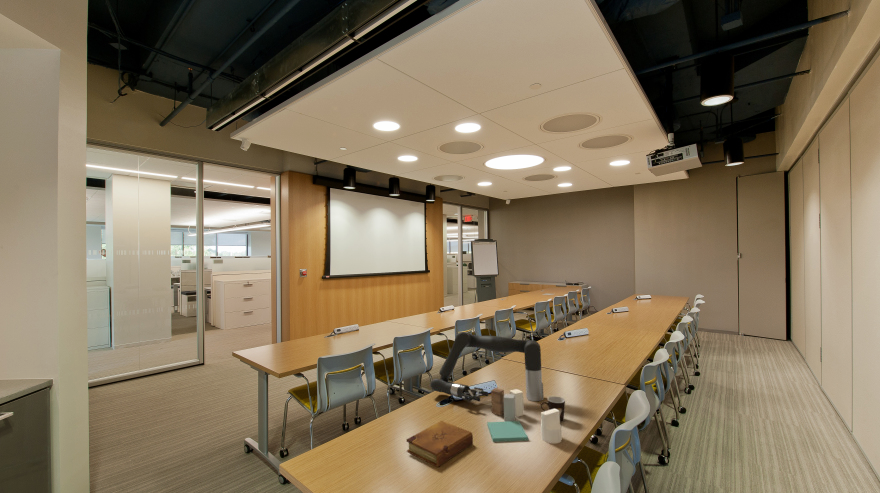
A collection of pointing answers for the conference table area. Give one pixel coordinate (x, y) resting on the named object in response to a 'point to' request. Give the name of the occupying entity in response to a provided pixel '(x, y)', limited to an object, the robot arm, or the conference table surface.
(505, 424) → the teal board
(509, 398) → the grey brick
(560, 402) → the coffee mug
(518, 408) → the off-white brick
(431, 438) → the diary
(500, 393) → the walnut brick
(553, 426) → the base with upright slab
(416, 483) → the conference table surface
